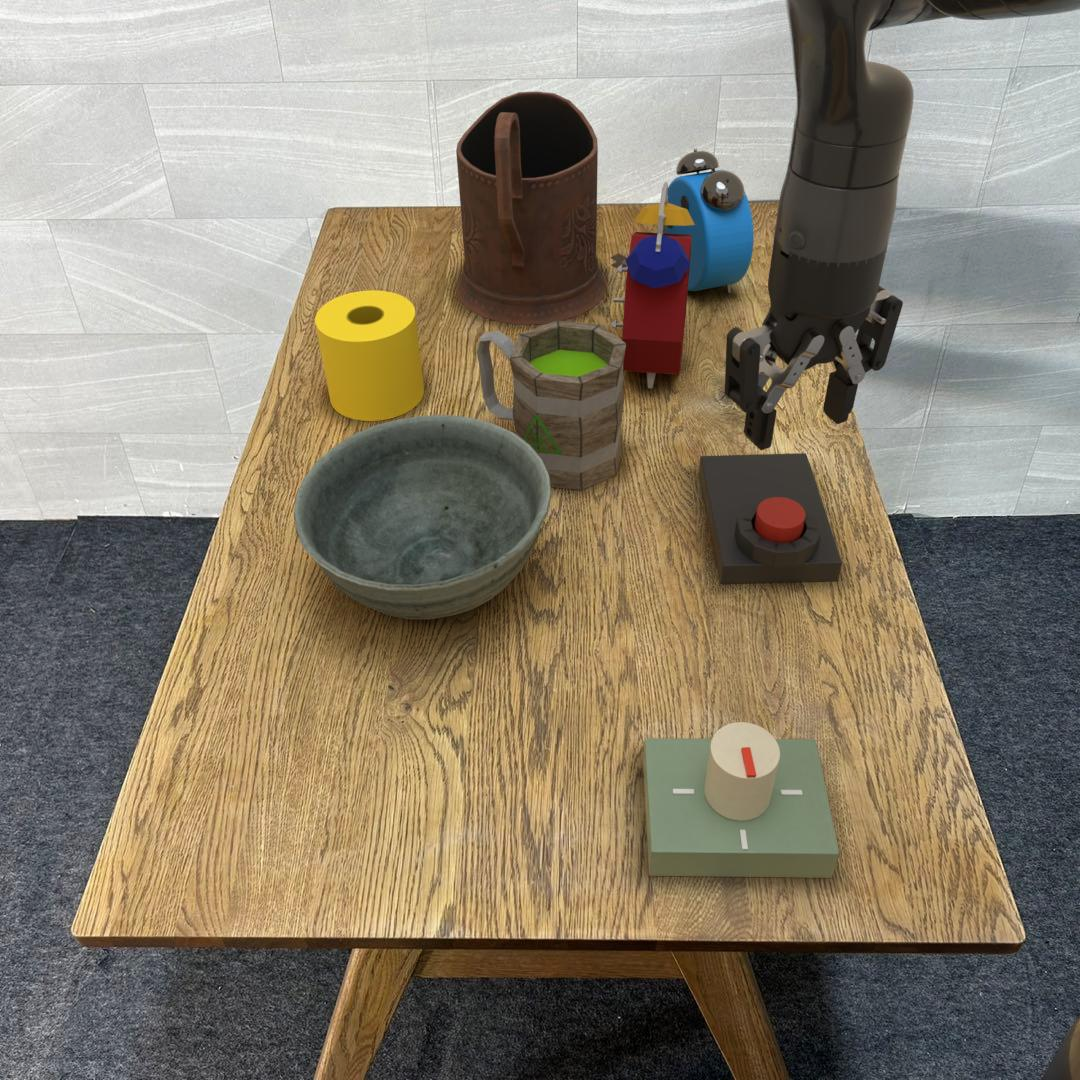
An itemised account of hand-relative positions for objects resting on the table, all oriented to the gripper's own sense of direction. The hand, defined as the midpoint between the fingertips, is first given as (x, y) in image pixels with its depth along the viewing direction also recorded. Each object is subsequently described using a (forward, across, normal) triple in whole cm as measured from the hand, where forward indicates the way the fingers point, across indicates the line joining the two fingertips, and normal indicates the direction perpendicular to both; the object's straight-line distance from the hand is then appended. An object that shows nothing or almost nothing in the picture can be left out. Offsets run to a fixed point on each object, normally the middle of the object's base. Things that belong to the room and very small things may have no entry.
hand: (796, 430), depth 82 cm
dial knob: (+11, +18, +20) cm, 29 cm away
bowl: (+14, +28, -11) cm, 33 cm away
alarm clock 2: (+14, -6, -32) cm, 36 cm away
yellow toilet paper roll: (+14, +23, -40) cm, 48 cm away
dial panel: (+14, +18, +20) cm, 30 cm away
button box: (+14, -2, -4) cm, 15 cm away
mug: (+14, +10, -23) cm, 29 cm away
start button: (+10, 0, 0) cm, 10 cm away
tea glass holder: (+14, 0, -51) cm, 53 cm away
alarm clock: (+14, -20, -44) cm, 51 cm away
